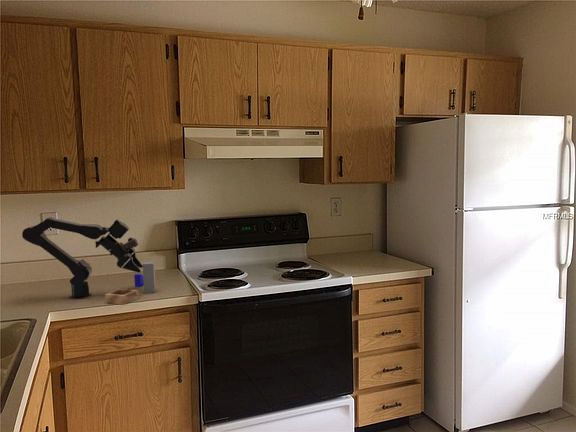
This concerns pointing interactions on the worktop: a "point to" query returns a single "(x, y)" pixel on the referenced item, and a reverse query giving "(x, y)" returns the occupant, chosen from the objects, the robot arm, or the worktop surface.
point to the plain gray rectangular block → (149, 277)
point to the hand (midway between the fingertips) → (141, 269)
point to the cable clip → (139, 280)
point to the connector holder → (121, 296)
